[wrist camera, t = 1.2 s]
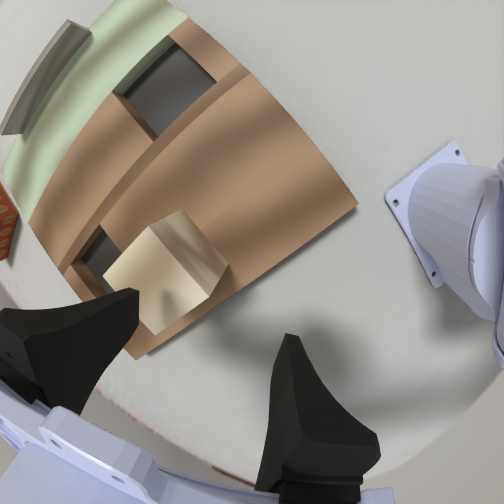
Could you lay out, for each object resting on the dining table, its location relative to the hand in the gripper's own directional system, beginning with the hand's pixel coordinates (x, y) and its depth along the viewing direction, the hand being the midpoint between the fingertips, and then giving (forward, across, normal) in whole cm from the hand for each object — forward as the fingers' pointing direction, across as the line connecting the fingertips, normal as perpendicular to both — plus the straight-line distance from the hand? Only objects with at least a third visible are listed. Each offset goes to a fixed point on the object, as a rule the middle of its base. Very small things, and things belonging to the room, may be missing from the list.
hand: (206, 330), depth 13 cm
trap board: (+10, +11, -5) cm, 15 cm away
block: (+8, +4, 0) cm, 9 cm away
